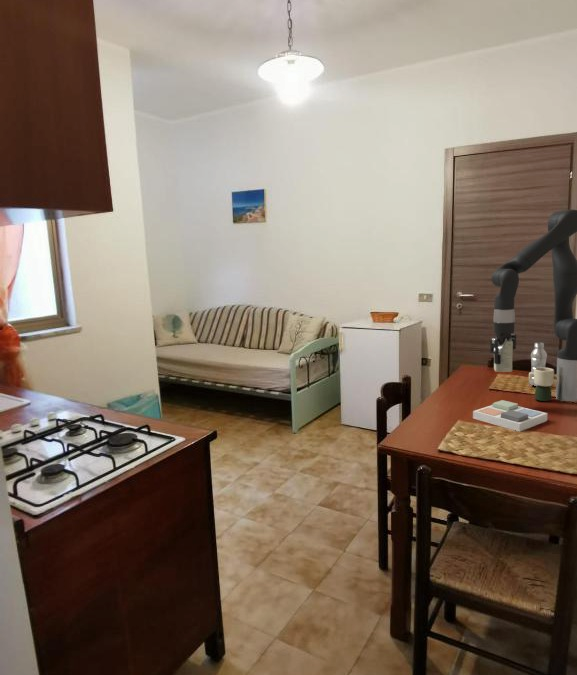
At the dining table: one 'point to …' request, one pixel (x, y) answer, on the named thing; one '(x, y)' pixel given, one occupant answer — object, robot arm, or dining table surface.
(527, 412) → the key slate
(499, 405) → the key sage
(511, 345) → the skincare box
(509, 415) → the key charcoal
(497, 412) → the key terracotta
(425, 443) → the dining table surface
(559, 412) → the dining table surface
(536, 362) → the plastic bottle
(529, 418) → the white flat square tray
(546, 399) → the character mug
